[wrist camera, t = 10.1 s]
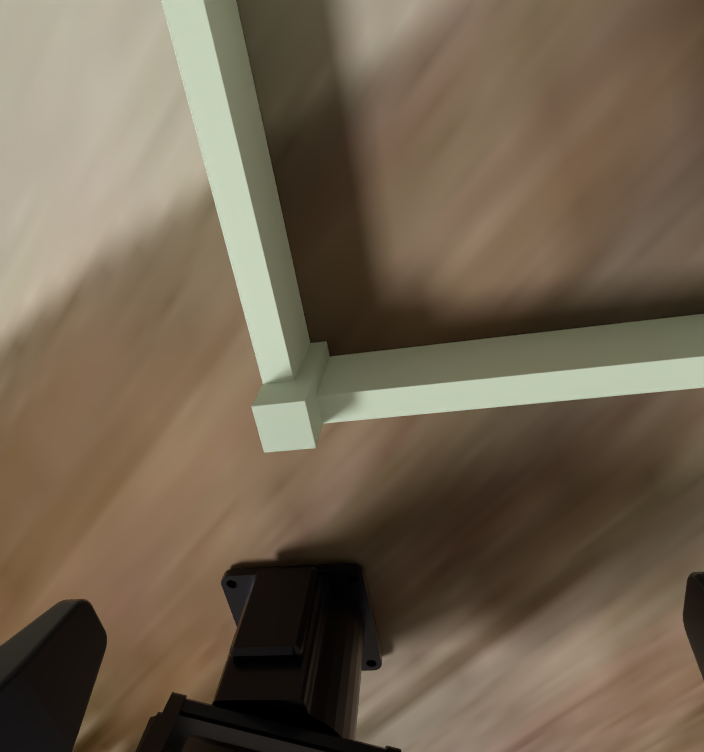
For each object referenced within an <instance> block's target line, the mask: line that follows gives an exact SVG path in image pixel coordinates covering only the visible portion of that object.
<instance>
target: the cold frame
mask: <svg viewBox="0 0 704 752" xmlns="http://www.w3.org/2000/svg"><path fill="white" fill-rule="evenodd" d="M161 2H162V6H163V10H164V13H165V17H166V21H167V25H168V28H169V32H170V36H171V40H172V43H173V47H174V51H175V55H176V58H177V62H178V66H179V70H180V73H181V77H182V81H183V85H184V89H185V92H186V96H187V100H188V104H189V107H190V111H191V115H192V119H193V122H194V126H195V130H196V134H197V137H198V141H199V145H200V149H201V152H202V156H203V160H204V164H205V167H206V171H207V175H208V179H209V183H210V186H211V190H212V194H213V198H214V201H215V205H216V209H217V213H218V216H219V220H220V224H221V228H222V231H223V235H224V239H225V243H226V246H227V250H228V254H229V258H230V262H231V265H232V269H233V273H234V277H235V280H236V284H237V288H238V292H239V295H240V299H241V303H242V307H243V310H244V314H245V318H246V322H247V325H248V329H249V333H250V337H251V341H252V344H253V348H254V352H255V356H256V359H257V363H258V367H259V371H260V374H261V378H262V382H263V386H262V387H261V389H260V391H259V393H258V395H257V397H256V399H255V400H254V402H253V404H252V406H251V407H252V411H253V414H254V418H255V421H256V425H257V428H258V432H259V436H260V439H261V443H262V446H263V450H264V452H275V451H287V450H298V449H310V448H316V445H317V442H318V438H319V435H320V431H321V428H322V424H323V423H332V422H343V421H354V420H364V419H375V418H385V417H396V416H407V415H417V414H428V413H439V412H449V411H460V410H470V409H481V408H492V407H502V406H513V405H523V404H534V403H545V402H555V401H566V400H576V399H587V398H598V397H608V396H619V395H629V394H640V393H651V392H661V391H672V390H683V389H693V388H704V314H697V315H688V316H679V317H670V318H662V319H653V320H644V321H635V322H627V323H618V324H609V325H600V326H592V327H583V328H574V329H565V330H557V331H548V332H539V333H530V334H522V335H513V336H504V337H495V338H487V339H478V340H469V341H461V342H452V343H443V344H434V345H426V346H417V347H408V348H399V349H391V350H382V351H373V352H364V353H356V354H347V355H338V356H330V355H329V350H328V345H327V341H324V342H316V343H310V339H309V335H308V330H307V326H306V321H305V316H304V312H303V307H302V302H301V298H300V293H299V289H298V284H297V279H296V275H295V270H294V266H293V261H292V256H291V252H290V247H289V242H288V238H287V233H286V229H285V224H284V219H283V215H282V210H281V206H280V201H279V196H278V192H277V187H276V182H275V178H274V173H273V169H272V164H271V159H270V155H269V150H268V145H267V141H266V136H265V132H264V127H263V122H262V118H261V113H260V109H259V104H258V99H257V95H256V90H255V85H254V81H253V76H252V72H251V67H250V62H249V58H248V53H247V49H246V44H245V39H244V35H243V30H242V25H241V21H240V16H239V12H238V7H237V2H236V0H161Z"/></svg>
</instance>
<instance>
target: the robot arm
mask: <svg viewBox="0 0 704 752" xmlns="http://www.w3.org/2000/svg"><path fill="white" fill-rule="evenodd" d="M350 574H353V575H355V576H351V575H350ZM232 580H233V581H232ZM221 585H222V587H223V590H224V593H225V596H226V598H227V601H228V604H229V607H230V609H231V612H232V615H233V617H234V620H235V623H236V626H237V630H236V633H235V636H234V639H233V642H232V645H231V648H230V652H229V655H228V658H227V661H226V664H225V667H224V670H223V673H222V676H221V679H220V682H219V685H218V688H217V691H216V694H215V697H214V700H213V703H212V705H211V704H207V703H203V702H199V701H195V700H191V699H187V695H183V694H179V693H175V692H172V694H171V696H170V698H169V700H168V702H167V704H166V706H165V708H164V710H163V712H158V713H157V715H156V716H153V717H150V719H149V721H148V724H147V726H146V728H145V731H144V733H143V735H142V738H141V740H140V742H139V745H138V747H137V749H136V752H401V749H399V748H395V747H391V746H386V747H385V748H383V747H379V746H375V745H371V744H367V743H363V742H359V741H355V736H356V725H357V714H358V703H359V692H360V681H361V671H366V670H377V669H379V668H380V667H381V665H382V653H381V648H380V643H379V639H378V634H377V629H376V624H375V620H374V615H373V610H372V606H371V601H370V596H369V591H368V587H367V582H366V577H365V573H364V570H363V568H362V567H361V566H360V565H358V564H355V563H345V564H325V565H306V566H286V567H266V568H247V569H231V570H227V571H226V572H225V574H224V576H223V578H222V581H221ZM683 622H684V627H685V631H686V634H687V637H688V639H689V642H690V645H691V648H692V650H693V653H694V656H695V658H696V661H697V664H698V666H699V669H700V672H701V675H702V677H703V680H704V572H693V573H691V574H690V575H689V577H688V579H687V586H686V593H685V601H684V609H683ZM106 645H107V636H106V632H105V629H104V628H103V626H102V624H101V622H100V620H99V618H98V616H97V614H96V612H95V610H94V608H93V606H92V605H91V603H90V602H89V601H87V600H86V599H71V600H63V601H60V602H58V603H57V604H55V605H54V606H53V607H51V608H50V609H49V610H47V611H46V612H45V613H43V614H42V615H41V616H39V617H38V618H37V619H36V620H34V621H33V622H32V623H30V624H29V625H28V626H26V627H25V628H24V629H22V630H21V631H20V632H18V633H17V634H16V635H14V636H13V637H12V638H10V639H9V640H8V641H6V642H5V643H4V644H2V645H1V646H0V752H72V750H73V747H74V744H75V741H76V738H77V735H78V733H79V730H80V727H81V724H82V720H83V717H84V714H85V711H86V708H87V705H88V702H89V699H90V696H91V693H92V690H93V687H94V684H95V681H96V678H97V675H98V672H99V668H100V665H101V662H102V659H103V656H104V653H105V650H106Z"/></svg>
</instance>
